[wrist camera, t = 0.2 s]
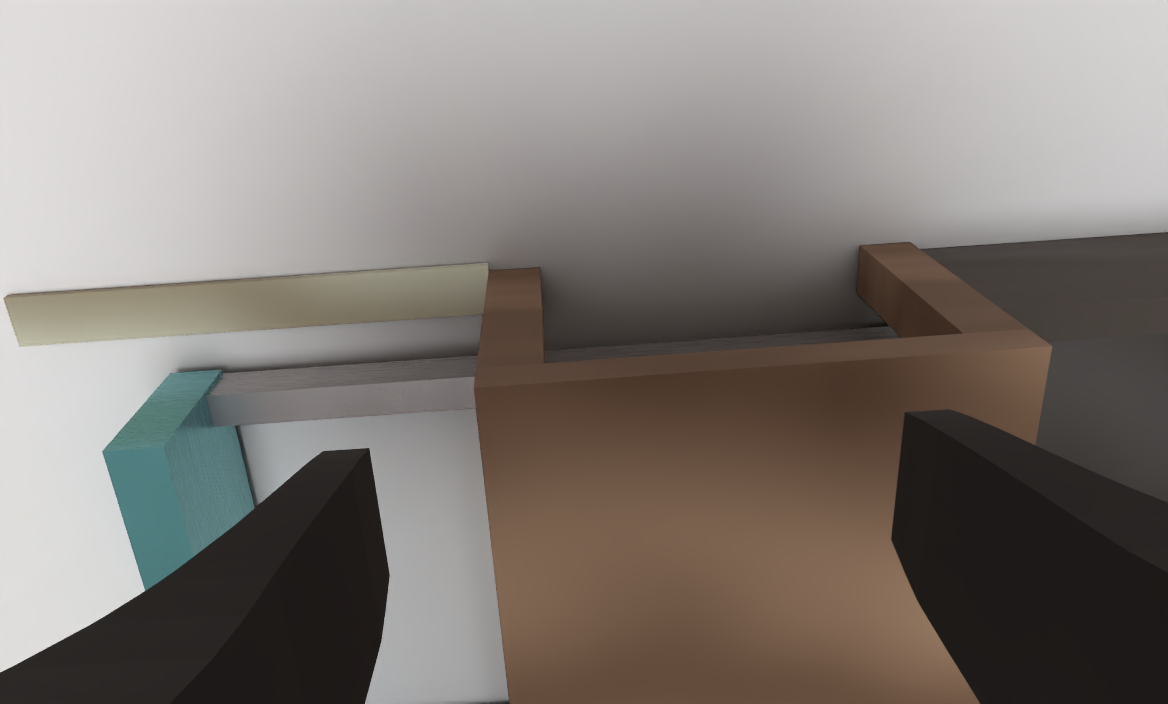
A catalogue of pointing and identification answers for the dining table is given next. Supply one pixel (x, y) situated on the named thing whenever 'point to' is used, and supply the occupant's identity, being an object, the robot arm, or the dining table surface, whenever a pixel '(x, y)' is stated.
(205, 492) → the drawer
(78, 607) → the dining table surface
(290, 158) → the dining table surface
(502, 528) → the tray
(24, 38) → the dining table surface
